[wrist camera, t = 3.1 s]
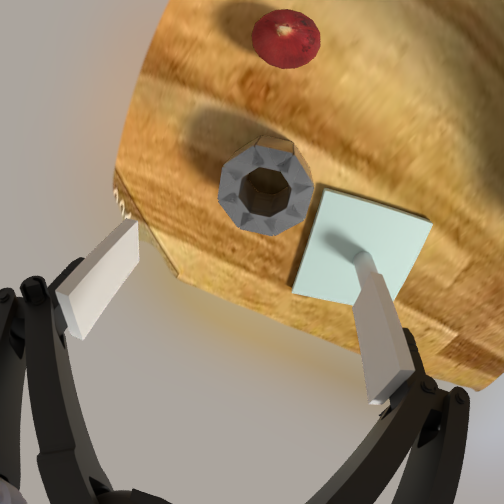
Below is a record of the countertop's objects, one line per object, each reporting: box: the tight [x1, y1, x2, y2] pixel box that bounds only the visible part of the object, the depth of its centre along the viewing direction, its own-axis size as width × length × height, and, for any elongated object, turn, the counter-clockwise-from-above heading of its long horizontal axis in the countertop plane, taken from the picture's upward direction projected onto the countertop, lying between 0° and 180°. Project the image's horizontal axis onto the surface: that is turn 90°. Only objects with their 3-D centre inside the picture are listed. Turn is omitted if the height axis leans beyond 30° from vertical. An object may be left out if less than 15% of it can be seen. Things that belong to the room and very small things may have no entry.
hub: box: [218, 135, 314, 236], centre depth 27 cm, size 8×8×6 cm
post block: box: [292, 188, 433, 305], centre depth 30 cm, size 14×14×6 cm
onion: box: [252, 9, 320, 69], centre depth 19 cm, size 6×6×8 cm
